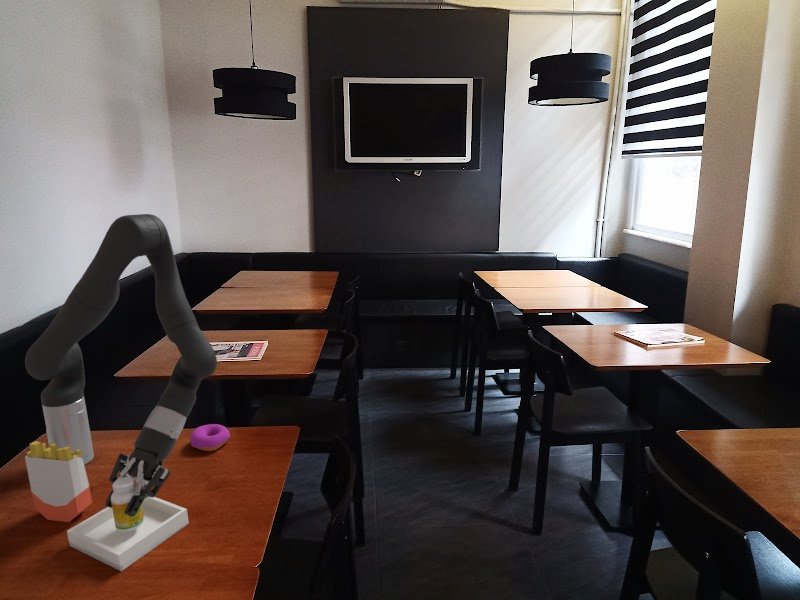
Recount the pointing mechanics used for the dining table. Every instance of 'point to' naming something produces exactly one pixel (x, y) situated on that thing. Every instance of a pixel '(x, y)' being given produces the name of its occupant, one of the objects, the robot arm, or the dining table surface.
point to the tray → (127, 533)
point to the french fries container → (57, 481)
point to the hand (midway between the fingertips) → (119, 510)
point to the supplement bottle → (125, 505)
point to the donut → (209, 437)
